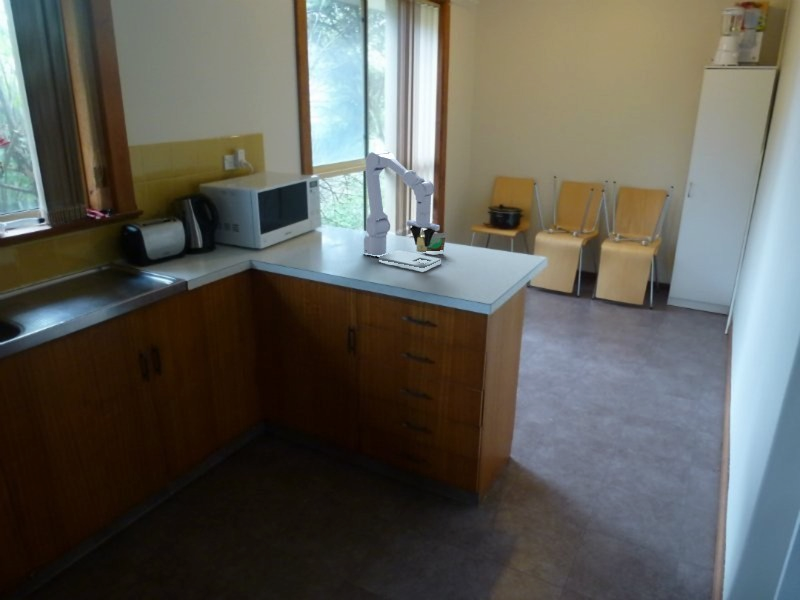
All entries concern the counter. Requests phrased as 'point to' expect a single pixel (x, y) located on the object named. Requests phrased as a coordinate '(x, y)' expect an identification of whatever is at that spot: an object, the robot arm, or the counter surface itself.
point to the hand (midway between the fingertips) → (422, 245)
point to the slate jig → (408, 258)
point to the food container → (436, 241)
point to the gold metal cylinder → (421, 243)
